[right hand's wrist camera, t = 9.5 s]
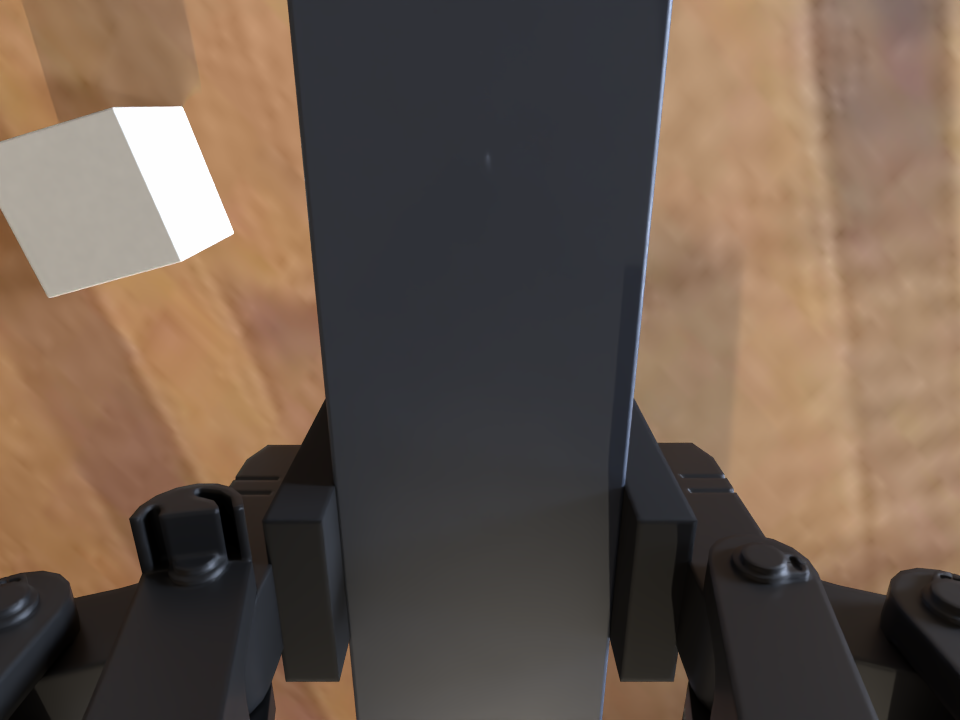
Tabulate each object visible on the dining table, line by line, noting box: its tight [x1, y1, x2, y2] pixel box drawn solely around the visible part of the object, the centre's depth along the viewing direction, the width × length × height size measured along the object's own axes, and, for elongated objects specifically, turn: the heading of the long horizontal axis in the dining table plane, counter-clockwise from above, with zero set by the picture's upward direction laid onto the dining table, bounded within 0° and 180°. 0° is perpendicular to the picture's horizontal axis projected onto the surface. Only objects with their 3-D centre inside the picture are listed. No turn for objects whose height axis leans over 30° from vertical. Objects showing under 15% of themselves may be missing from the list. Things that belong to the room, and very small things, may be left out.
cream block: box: [0, 106, 234, 298], centre depth 23 cm, size 5×5×5 cm
